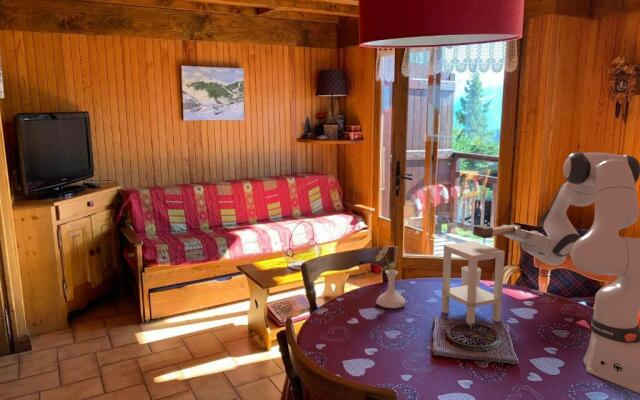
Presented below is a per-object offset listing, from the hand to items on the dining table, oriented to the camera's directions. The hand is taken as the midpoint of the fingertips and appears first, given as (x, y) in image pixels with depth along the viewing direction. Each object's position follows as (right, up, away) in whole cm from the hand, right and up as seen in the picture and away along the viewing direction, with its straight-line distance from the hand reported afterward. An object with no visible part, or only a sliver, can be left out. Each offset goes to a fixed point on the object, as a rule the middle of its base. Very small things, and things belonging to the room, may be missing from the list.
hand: (511, 228), depth 186 cm
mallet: (-5, -2, -2) cm, 6 cm away
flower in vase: (-44, -31, +8) cm, 55 cm away
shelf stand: (-16, -32, -2) cm, 36 cm away
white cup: (-8, -28, +24) cm, 38 cm away
